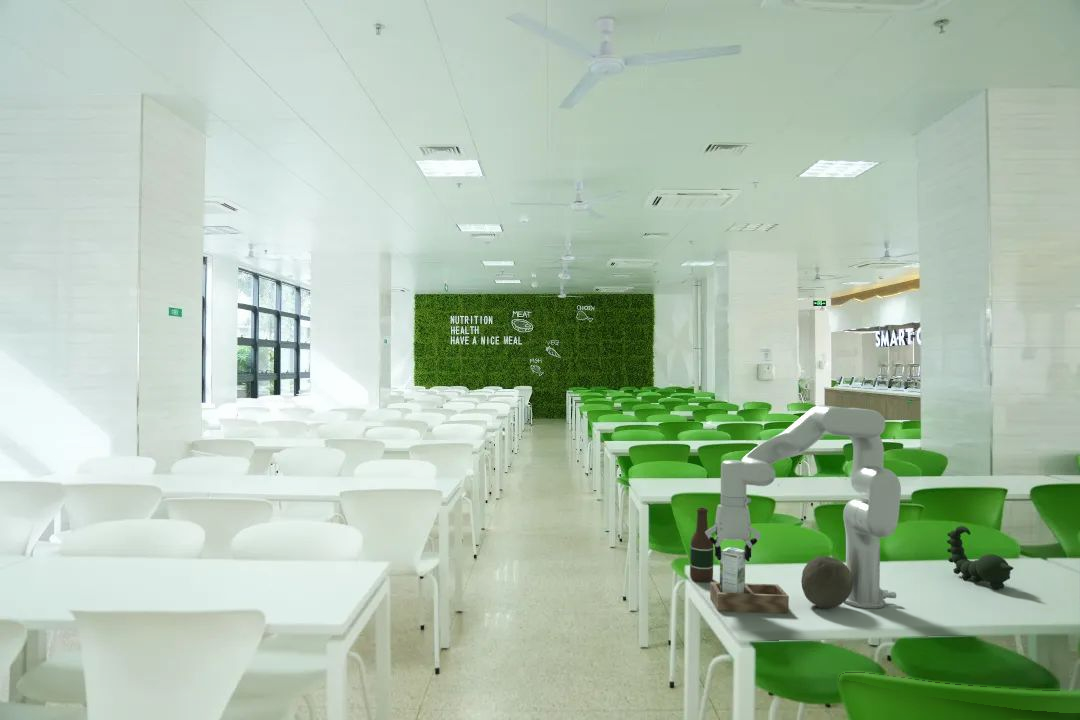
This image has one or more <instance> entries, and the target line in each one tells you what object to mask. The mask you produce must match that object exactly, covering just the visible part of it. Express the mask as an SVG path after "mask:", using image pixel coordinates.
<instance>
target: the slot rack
mask: <svg viewBox="0 0 1080 720" xmlns="http://www.w3.org/2000/svg"><path fill="white" fill-rule="evenodd" d="M709 583H710V587H709V588H710V589H709V599H710V601H711V602H712V604H713V606H714V607H715V610H716V611H717V612H741V613H765V614H766V613H768V614H772V613H773V614H789V607H790V606H789V603H790V599H789V598H790V597H789V594H787V593H786V592H785V590H784V589H782V587H781V586H780V585H779V584H778V583H777V584H775V583H774V584H773V583H772V584H770V583H746V582H745V593H721V592H720V581H719V582H717V581H715V582H713V581H710V582H709Z"/></svg>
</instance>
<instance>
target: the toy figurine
mask: <svg viewBox="0 0 1080 720" xmlns="http://www.w3.org/2000/svg"><path fill="white" fill-rule="evenodd" d="M964 533H967V534H968V535H969V536H970V535H971V531H970V529H969V528H968V527H966V526H964V525H960V526H957V527H955V530H951V531H950V532H947V534H946V535H947V536H948V537H949V539H948V540H946V543H947V544H948V545H950V548H947V549H946V551H947V553H949V554H950V553H951V557H948V559H947V560H948V562H949V563H954V564H955V568H953V573H954V574H955V575H960V573H961V579H962V580H963V581H968V580H970V581H971V582H972V583H974V584H979V583H980V582H986V583H988V584H989V587H990V588H991V589H993V590H995V591H997V590H998V591H1000V590H1002V589H1004V587H1005V584H1004V583H1005V582H1006V581H1008V580H1010V579H1011V571H1013V570H1014V566H1011V565H1010V564H1009V563H1008V562H1007V560H1006V559H1004V558H1003V557H1001V556H1000V555H997V554H993V553H989V554H984V555H982V556H980V557H979V558H978V559H977V560H969V559H968V557H967V555H966V553H965V549H964V547H963V540H962V538H961V537H962V536H961V535H962V534H964Z"/></svg>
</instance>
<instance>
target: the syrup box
mask: <svg viewBox="0 0 1080 720" xmlns="http://www.w3.org/2000/svg"><path fill="white" fill-rule="evenodd" d="M719 583H720V592H721V593H745V583H746V559H745V549H740V548H736V547H726V548H724V549H723V550H722V549H721V560H719Z"/></svg>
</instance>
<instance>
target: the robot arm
mask: <svg viewBox="0 0 1080 720" xmlns="http://www.w3.org/2000/svg"><path fill="white" fill-rule="evenodd" d="M885 429H886V420H885V418H884V416H883V415H882V414H881V413H880V412H878V411H877V410H873V409H867V408H859V407H839V406H833V405H832V406H831V405H824V404H821V405H815V406H812V407H811V408H810V409H809V410H807V411H806V412H805V413H804V414H803V415H801V416H800V417H799V418H798V419H797V420H795V421H794V422H793V423H792V424H790V425H789V426H788V427H787V428H785V430H784V431H782V432H780V433H779V434H777V435H775V436H773V437H770V438H769V439H767V440H765V441H763V442H762V443H760V444H758V445H757V446H756V447H754V448H753V449H752V450H751V451H750V452H748V453H747V454H746V455H745V456H743V457H742V458H741V460H739V459H738V460H736V459H728V460H727V459H726V460H723V461H722V462H721V464H720V504H717V508H716V514H715V521H714V525H713V526H711V527H709V528H708V530H707V531H705V534H706V535H707V537H708V538H709V540H710V541H711V542H712V543H713V546H714V558H716V559H717V560H718V561H720V560H721V551H722V547H721V544H722V542H723V541H724V540H726V541H730V540H731V541H744V543H745V546H744V551H745V562H746V561H747V562H750V558H752V548H753V546H755V545H756V543H757V542H758V541H759V539H760V538H761V537H762V533H761V532H759V531H758V530H757V529H755V528H754V527H752V523H751V515H750V509H749V506H748V504H750V503H752V498H751V497H748V496H747V486H748V485H749V486H756V487H766V486H769V485H771V484H772V483H773V482H774V481H775V478H776V470H775V468H774V466H772V465H773V464H775V463H776V462H778V461H781V460H784V459H788V458H793V457H797V456H799V455H802V454H804V453H806V451H807V450H809V449H810V448H811V447H813V445H814V444H816V443H817V442H819V440H820V439H822V437H824V436H825V435H831V436H836V437H837V436H840V437H845V438H846V437H847V438H849V439H850V441H851V443H852V448H853V451H852V452H853V456H852V465H851V466H852V467H851V477H850V481H851V482H850V483H851V487H852V488H853V490H854V491H855V492H857V493H858V494H860V495H863V496H866V497H868V499H865V498H854V499H851V500H849V501H848V502H847V503H846V504H845V506H844V508H843V513H842V516H843V517H842V519H843V523H844V525H843V526H844V529H845V565H846V566H847V567H848V569H849V570H850V572H851V574H852V576H853V588H852V591H851V593H850V595H849V597H848V598H847V599H846V600H845V601H844V602H843V603H844V604H847V605H849V606H852V607H853V606H854V607H857V608H864V609H880V608H884V607H885V606H886V601H885V600H886V599H887V598H888V599H897V592H896V591H889V590H888V589H882V588H881V587H880V586H881V585H880V584H881V583H880V582H881V581H880V580H881V576H880V574H881V573H880V572H881V571H880V570H881V562H880V561H881V544H880V543H881V542H880V538H883V539H884V538H887V537H890V536H891V535H893V534H894V532H895V531H896V529H897V527H898V523H899V515H900V506H901V495H902V487H901V481H900V479H899V477H898V476H897V475H896V473H894V472H893V471H892V470H890V469H888V468H884V456H885V455H884V451H885V449H884V443H883V440H882V438H881V435H882V434H883V432H884V431H885ZM713 533H714V534H715V535H716V537H715V538H714V537H713V536H712V534H713ZM752 534H754V536H753V537H752ZM751 537H752V538H751Z"/></svg>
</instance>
